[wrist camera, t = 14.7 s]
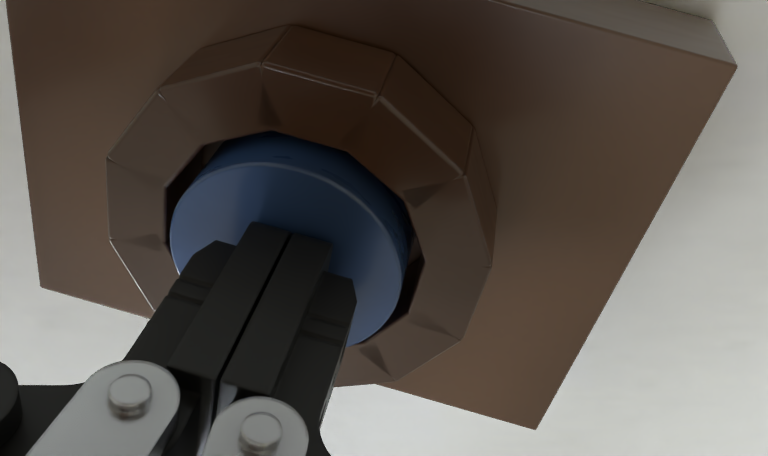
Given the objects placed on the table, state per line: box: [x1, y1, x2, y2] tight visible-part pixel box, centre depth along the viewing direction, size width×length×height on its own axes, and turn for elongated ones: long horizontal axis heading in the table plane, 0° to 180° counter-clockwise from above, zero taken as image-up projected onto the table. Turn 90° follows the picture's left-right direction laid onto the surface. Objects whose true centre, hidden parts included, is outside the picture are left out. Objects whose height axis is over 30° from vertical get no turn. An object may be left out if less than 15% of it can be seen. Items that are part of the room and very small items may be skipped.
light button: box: [170, 130, 415, 348], centre depth 14 cm, size 4×4×2 cm
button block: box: [6, 0, 737, 430], centre depth 15 cm, size 13×10×4 cm
